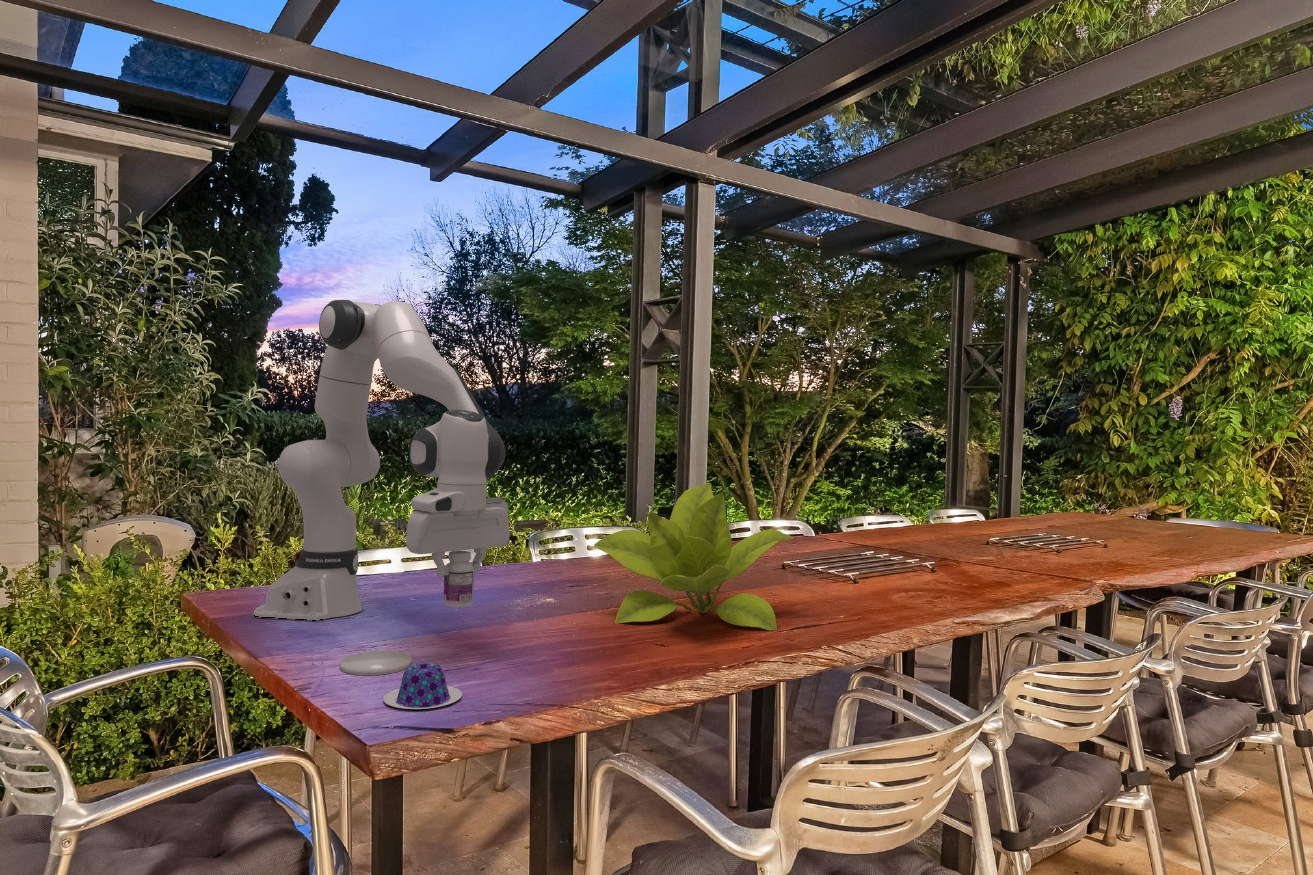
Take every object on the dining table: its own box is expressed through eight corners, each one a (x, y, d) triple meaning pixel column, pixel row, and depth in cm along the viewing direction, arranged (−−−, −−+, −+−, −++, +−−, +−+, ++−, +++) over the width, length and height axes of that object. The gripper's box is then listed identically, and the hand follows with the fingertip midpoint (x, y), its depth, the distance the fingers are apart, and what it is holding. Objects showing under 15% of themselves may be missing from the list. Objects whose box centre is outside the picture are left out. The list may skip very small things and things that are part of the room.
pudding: (406, 686, 139) (406, 654, 139) (474, 692, 137) (474, 660, 137) (368, 709, 128) (368, 675, 127) (442, 716, 125) (442, 681, 125)
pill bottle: (445, 601, 157) (447, 549, 156) (474, 601, 157) (476, 550, 157) (441, 607, 151) (442, 554, 151) (471, 607, 152) (472, 554, 152)
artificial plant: (586, 636, 198) (555, 542, 182) (687, 525, 225) (668, 434, 208) (738, 707, 175) (719, 606, 158) (831, 573, 201) (823, 475, 184)
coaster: (330, 675, 143) (330, 669, 143) (352, 655, 155) (352, 650, 155) (402, 675, 144) (402, 669, 144) (418, 656, 156) (418, 651, 156)
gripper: (497, 495, 164) (495, 565, 164) (403, 499, 149) (400, 577, 149) (517, 498, 159) (515, 570, 160) (422, 503, 144) (419, 583, 145)
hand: (458, 574), depth 154 cm, fingers closed on pill bottle, 5 cm apart
